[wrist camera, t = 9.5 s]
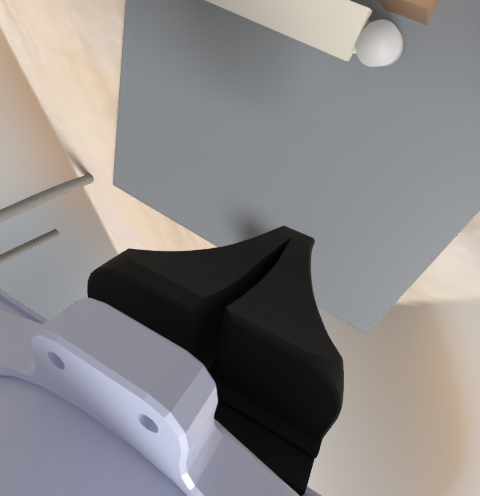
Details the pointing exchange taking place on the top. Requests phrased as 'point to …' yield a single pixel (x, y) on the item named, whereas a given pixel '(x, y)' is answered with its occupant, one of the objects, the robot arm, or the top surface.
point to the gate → (327, 27)
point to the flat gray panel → (307, 139)
